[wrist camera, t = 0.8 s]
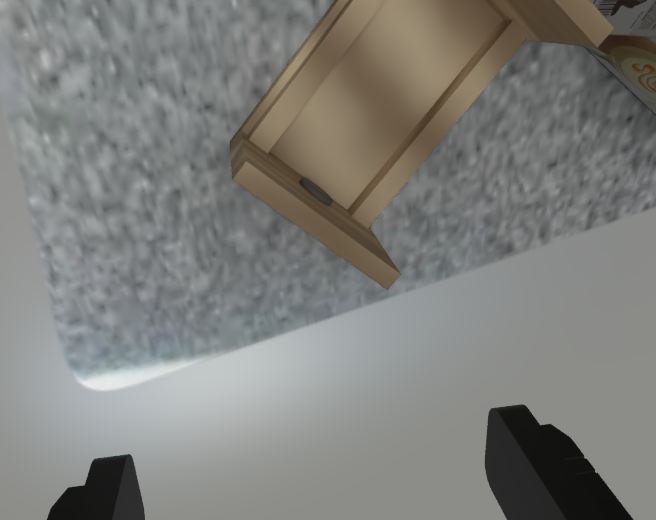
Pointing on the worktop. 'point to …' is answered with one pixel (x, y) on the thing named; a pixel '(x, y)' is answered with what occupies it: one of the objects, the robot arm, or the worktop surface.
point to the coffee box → (630, 45)
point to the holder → (382, 106)
